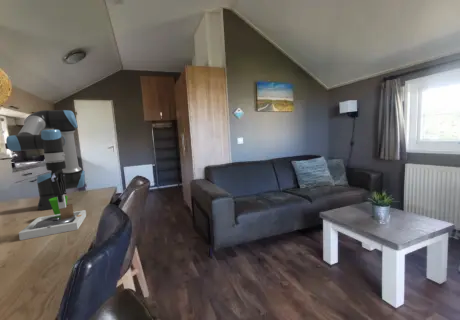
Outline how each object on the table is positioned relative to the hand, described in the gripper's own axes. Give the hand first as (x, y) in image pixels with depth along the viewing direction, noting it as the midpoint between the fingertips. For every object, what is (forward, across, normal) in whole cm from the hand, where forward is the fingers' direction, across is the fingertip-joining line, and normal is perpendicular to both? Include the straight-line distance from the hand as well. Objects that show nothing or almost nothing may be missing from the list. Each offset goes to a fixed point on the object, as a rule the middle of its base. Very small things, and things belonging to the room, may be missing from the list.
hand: (62, 207), depth 112 cm
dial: (+9, +3, +5) cm, 10 cm away
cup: (+11, +22, +9) cm, 26 cm away
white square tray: (+10, +3, +5) cm, 12 cm away
